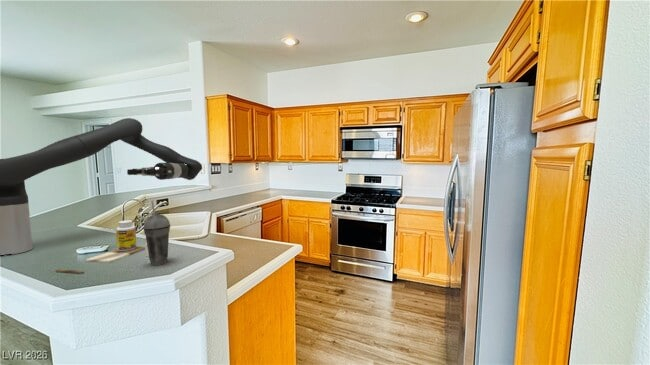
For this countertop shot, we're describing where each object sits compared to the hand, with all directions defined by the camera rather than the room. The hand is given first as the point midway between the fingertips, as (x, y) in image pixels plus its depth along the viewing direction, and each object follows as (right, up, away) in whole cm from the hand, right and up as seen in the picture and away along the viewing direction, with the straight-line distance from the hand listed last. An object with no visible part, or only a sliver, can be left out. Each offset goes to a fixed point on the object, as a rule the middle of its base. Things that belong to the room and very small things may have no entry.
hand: (137, 172), depth 105 cm
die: (+15, -29, -13) cm, 35 cm away
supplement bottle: (+3, -28, -9) cm, 30 cm away
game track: (+2, -29, -16) cm, 34 cm away
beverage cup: (+22, -30, -21) cm, 42 cm away
